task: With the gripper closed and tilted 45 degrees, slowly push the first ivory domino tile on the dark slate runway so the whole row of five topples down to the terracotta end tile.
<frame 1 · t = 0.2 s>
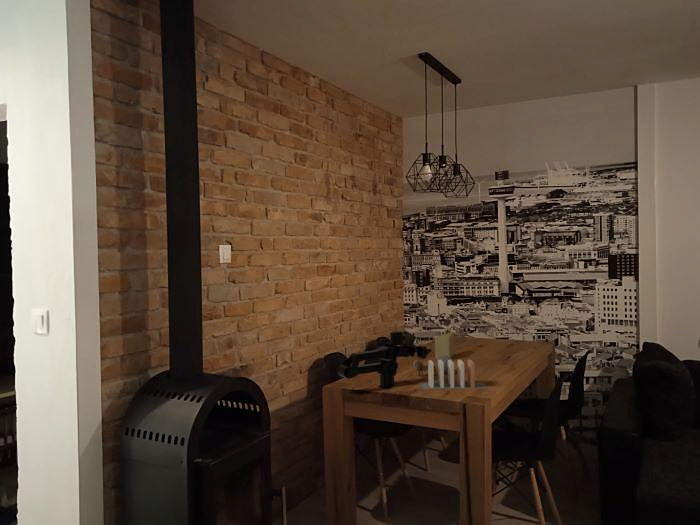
hand: (425, 349, 300), 17 cm above the table, tool horizontal, fingers open, 9 cm apart
runway: (453, 386, 285), on the table
tile 2: (440, 385, 286), point 1 cm above the table, touching runway
tile 1: (430, 385, 286), point 1 cm above the table, touching runway
tile 4: (461, 385, 285), point 1 cm above the table, touching runway
cheese: (447, 357, 365), on the table
tile 5: (471, 385, 285), point 1 cm above the table, touching runway
lion figurine: (425, 376, 311), on the table
decorative ball: (445, 373, 316), on the table
tile 3: (451, 385, 285), point 1 cm above the table, touching runway
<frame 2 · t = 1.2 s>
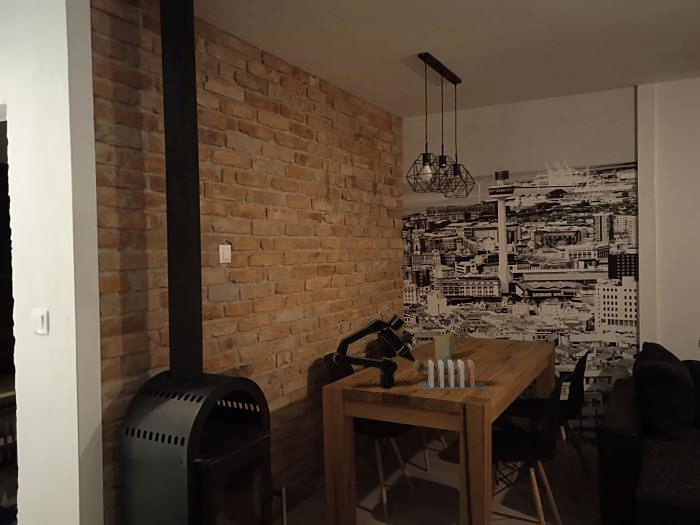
hand: (413, 359, 286), 14 cm above the table, tool tilted 45°, fingers open, 9 cm apart
nothing on the table moved.
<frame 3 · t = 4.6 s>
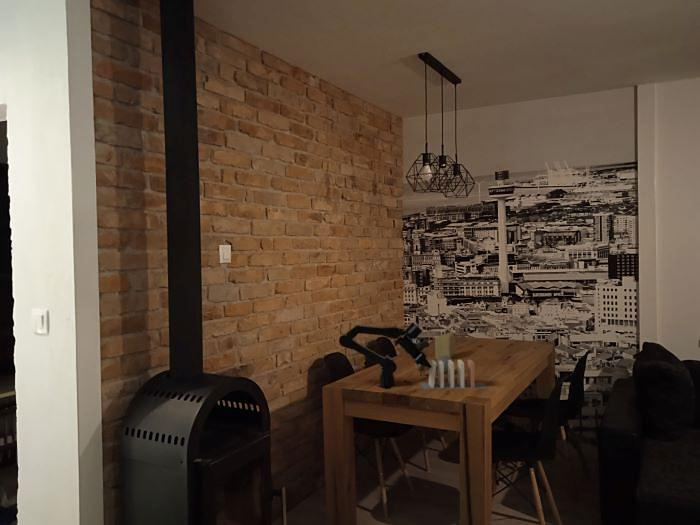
hand: (430, 367, 286), 10 cm above the table, tool tilted 45°, fingers closed
tile 1: (430, 385, 286), point 1 cm above the table, tilted 7°, touching runway
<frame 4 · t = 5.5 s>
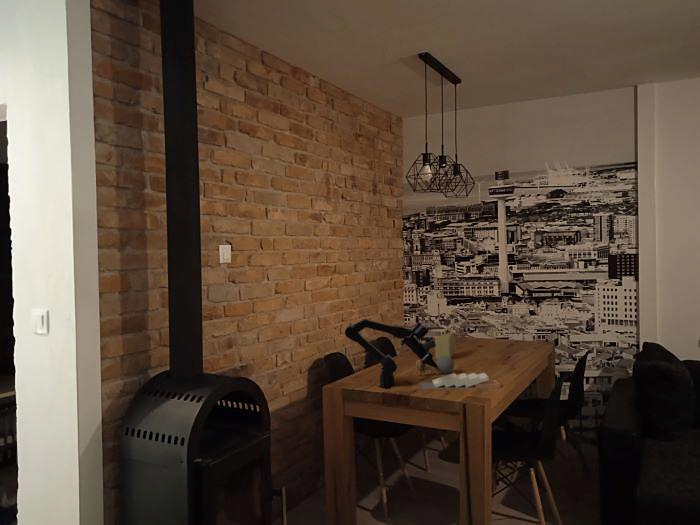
hand: (437, 367, 285), 10 cm above the table, tool tilted 45°, fingers closed
tile 2: (443, 383, 286), point 1 cm above the table, tilted 71°, touching runway, tile 1, tile 3
tile 1: (433, 383, 286), point 1 cm above the table, tilted 71°, touching tile 2
tile 4: (463, 383, 285), point 1 cm above the table, tilted 71°, touching runway, tile 3, tile 5
tile 5: (473, 383, 285), point 1 cm above the table, tilted 90°, touching runway, tile 4
tile 3: (453, 383, 285), point 1 cm above the table, tilted 71°, touching tile 2, tile 4
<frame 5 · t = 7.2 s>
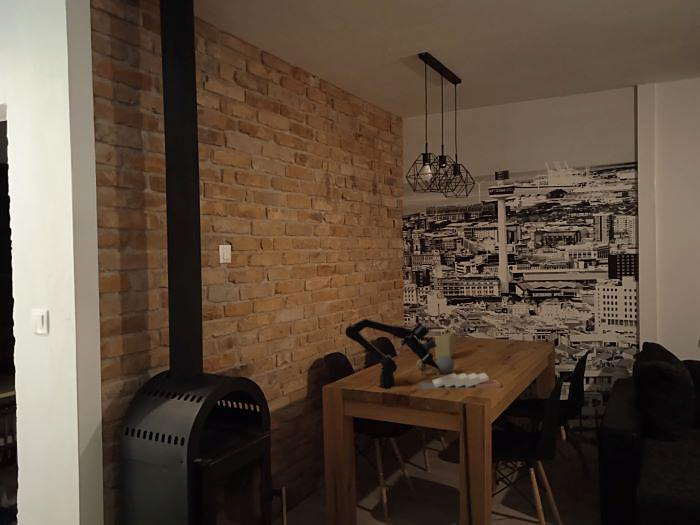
hand: (437, 367, 285), 10 cm above the table, tool tilted 45°, fingers closed
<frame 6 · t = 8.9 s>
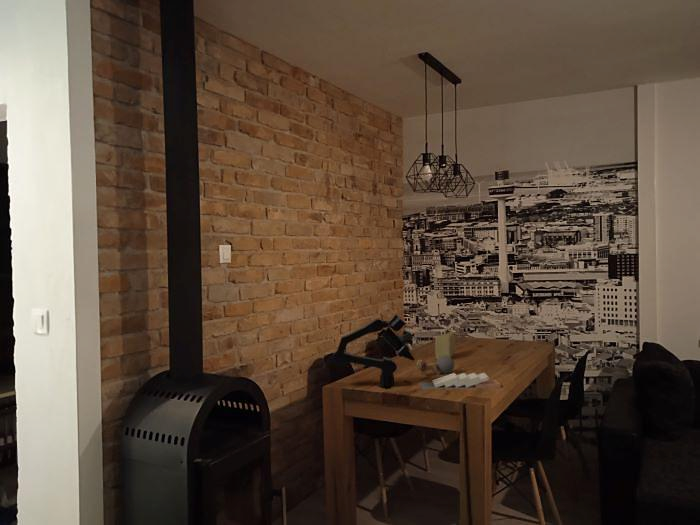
hand: (413, 359, 286), 13 cm above the table, tool tilted 45°, fingers closed
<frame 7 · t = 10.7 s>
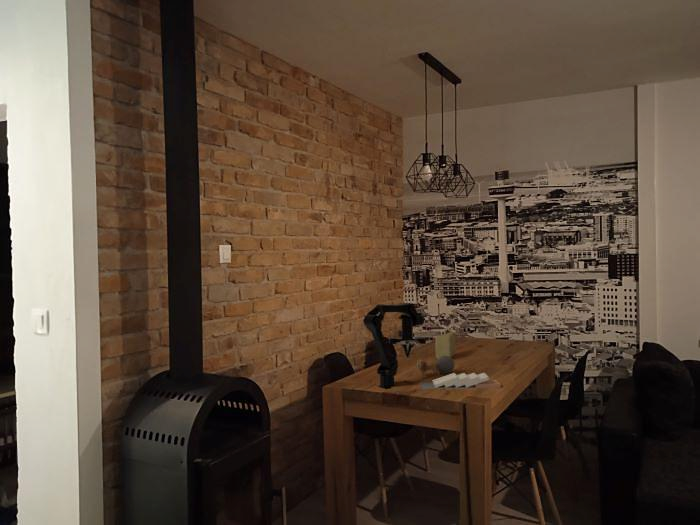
hand: (407, 357, 296), 13 cm above the table, tool pointing down, fingers closed
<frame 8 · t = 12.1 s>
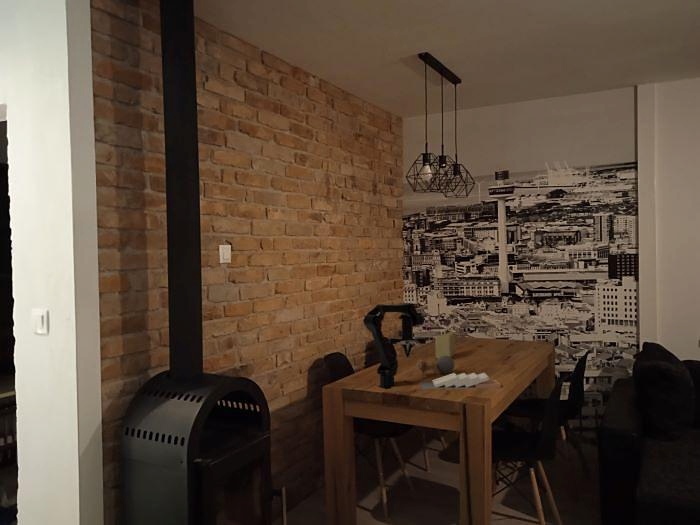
hand: (407, 357, 296), 13 cm above the table, tool pointing down, fingers closed
at the end: tile 5 tilted 90°; tile 3 tilted 71°; tile 1 tilted 71° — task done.
